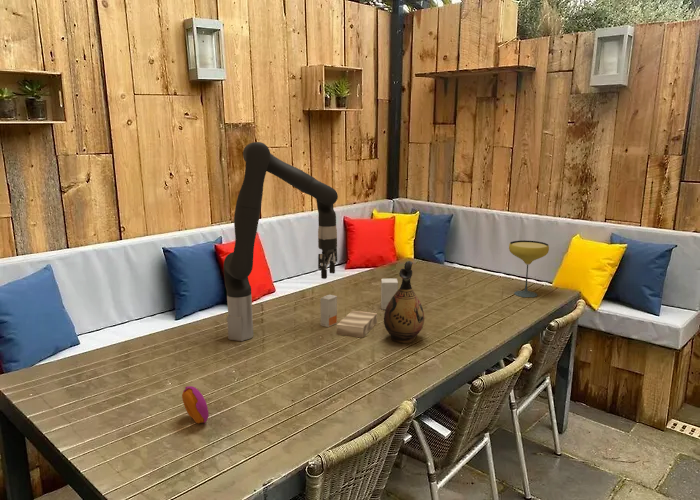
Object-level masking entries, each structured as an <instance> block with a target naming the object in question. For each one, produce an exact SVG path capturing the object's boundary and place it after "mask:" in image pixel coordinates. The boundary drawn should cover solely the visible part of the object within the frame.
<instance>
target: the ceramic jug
mask: <svg viewBox="0 0 700 500" xmlns="http://www.w3.org/2000/svg"><path fill="white" fill-rule="evenodd" d="M403 267H404V268H401V269H399V270H400V271H399V272H398V273H399V277H400V278H401V279H402V280H401V284H400V287H399V288H398V291H397V292H396V293H395V294H394V296H393V297H392V298H391V300H390V301H389V303H388V305H387V307H386V310H384V314H383V324H384V328H385V330H386V331H387V332H388V334H389V336H390V337H389V338H390V341H392V342H394V343H399V344H404V343H405V344H408V343H411V342H414V340H415V338H416V337H417V336H418V334H420V332H421V331H422V330H423V329H424V328H423V327H424V324H425V312H424V308H423V306H422V303H421V301H420V300H419V298H418V296H417V293H415V291H414V290H413V287H412V285H411V284H412V283H411V279H412V276H413V269H412V267H413V262H412V261H411V260H407V261H405V264H404V266H403Z"/></svg>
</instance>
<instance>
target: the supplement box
mask: <svg viewBox="0 0 700 500" xmlns="http://www.w3.org/2000/svg"><path fill="white" fill-rule="evenodd" d="M380 280H381V281H380V308H381V310H384V311H385V310H386V307H387V305H388V303H389V301H390V300H391V298H392V297H393V296H394V294H395V293H396V292H397V291H398V289H399V282H398V278H381V279H380Z"/></svg>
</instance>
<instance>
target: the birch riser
mask: <svg viewBox="0 0 700 500" xmlns="http://www.w3.org/2000/svg"><path fill="white" fill-rule="evenodd" d="M377 323H378V313H377V312H369V311H360V310H351V311H350V312H349V313H348V314H346V315H345V316H344V317H343V318H341V320H340V321H339V322H337V324H336V335H341V336H348V337H355V338H356V337H358V338H364V337H365V336H367V334H368V333H369V332H370V331H371V330H372V328H374V326H375V325H377Z"/></svg>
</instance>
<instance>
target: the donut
mask: <svg viewBox="0 0 700 500" xmlns="http://www.w3.org/2000/svg"><path fill="white" fill-rule="evenodd" d="M181 398H182V402H183V405H184V408H185V410H186V413H187V414H188V415H189V417H191V418H192V419H193V420H194V423H196V424H201V423H202V424H205V423H206V422H207V421H208V419H209V417H210V416H209V413H210V412H209V408H208V404H207V401H206V399H205V397H204V395H203V394H202V393H201V392H200V390H198V388H196V387H195V386H193V385H190V386H189V385H188V386H185V388H184V390H183V392H182V394H181Z"/></svg>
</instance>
